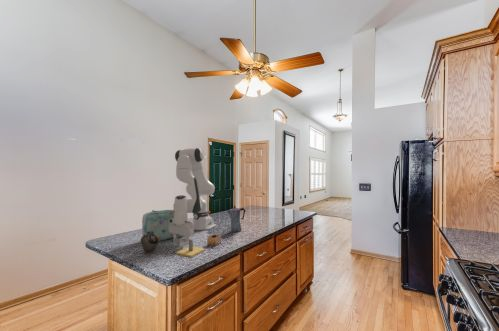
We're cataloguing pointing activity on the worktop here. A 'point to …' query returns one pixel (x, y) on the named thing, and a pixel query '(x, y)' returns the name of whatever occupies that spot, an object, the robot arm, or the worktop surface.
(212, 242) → the brown rounded piece
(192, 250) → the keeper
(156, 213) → the lunch box
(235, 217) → the moka pot
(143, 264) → the worktop surface
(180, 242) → the link
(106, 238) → the worktop surface
